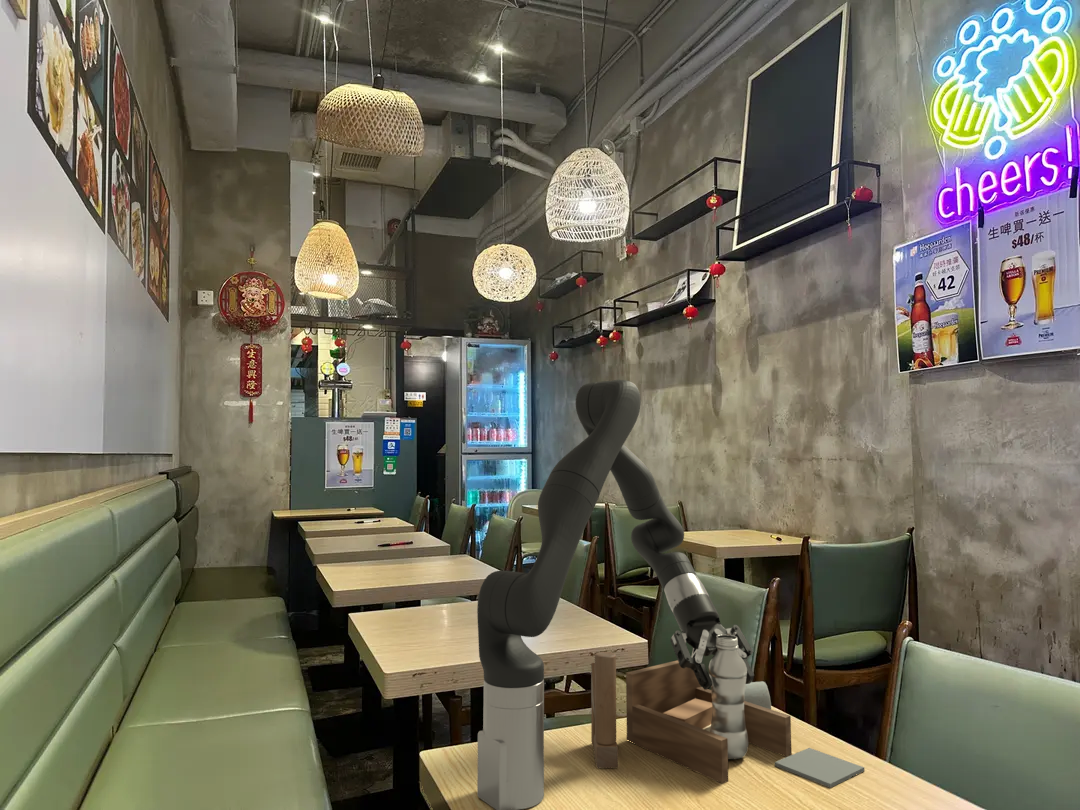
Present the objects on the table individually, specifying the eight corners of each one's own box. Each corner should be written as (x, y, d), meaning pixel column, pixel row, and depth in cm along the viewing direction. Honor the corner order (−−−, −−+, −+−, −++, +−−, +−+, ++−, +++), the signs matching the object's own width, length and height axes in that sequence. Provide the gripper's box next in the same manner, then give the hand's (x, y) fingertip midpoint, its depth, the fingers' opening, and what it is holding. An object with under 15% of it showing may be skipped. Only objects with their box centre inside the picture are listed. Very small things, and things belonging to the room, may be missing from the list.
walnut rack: (722, 783, 112) (720, 704, 113) (626, 740, 129) (626, 672, 130) (791, 754, 123) (789, 683, 124) (695, 718, 140) (694, 656, 141)
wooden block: (611, 743, 128) (610, 640, 129) (618, 769, 117) (617, 657, 118) (590, 743, 128) (590, 640, 129) (596, 769, 117) (595, 657, 118)
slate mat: (830, 787, 110) (830, 783, 110) (774, 765, 118) (774, 762, 118) (864, 771, 116) (864, 767, 116) (809, 751, 124) (809, 747, 124)
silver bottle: (701, 752, 123) (699, 635, 125) (732, 746, 126) (729, 631, 128) (725, 767, 118) (723, 643, 119) (757, 760, 120) (754, 639, 122)
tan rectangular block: (681, 757, 122) (681, 721, 123) (656, 747, 126) (656, 713, 127) (721, 739, 130) (720, 705, 131) (696, 730, 134) (696, 698, 135)
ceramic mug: (721, 715, 142) (721, 675, 142) (763, 716, 141) (762, 676, 142) (732, 736, 131) (731, 693, 132) (777, 737, 131) (776, 694, 131)
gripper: (665, 594, 129) (703, 677, 117) (730, 589, 134) (773, 668, 123) (650, 618, 133) (686, 700, 122) (714, 612, 139) (753, 690, 127)
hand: (729, 684), depth 122 cm, fingers open, 8 cm apart
